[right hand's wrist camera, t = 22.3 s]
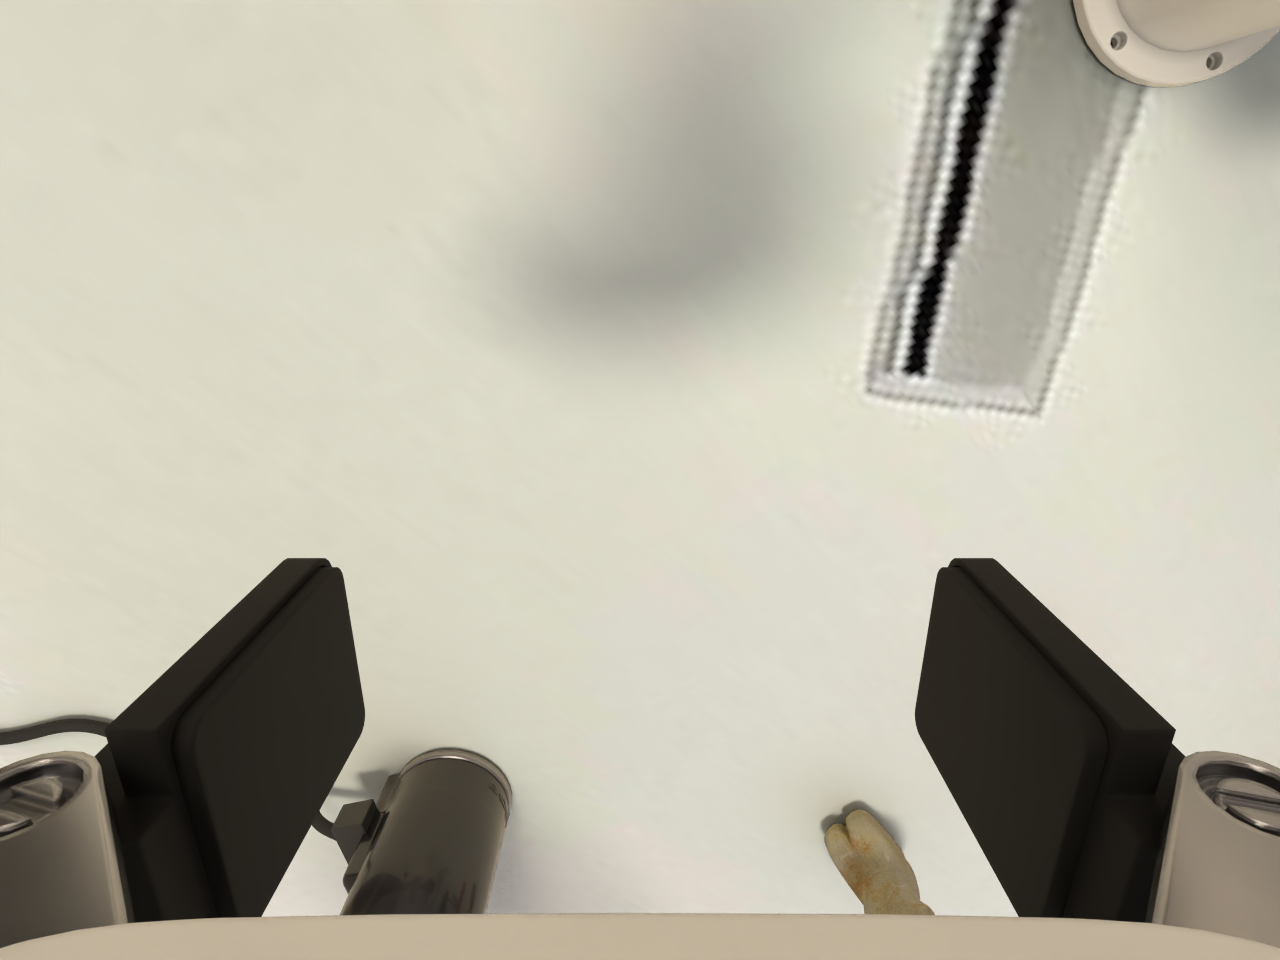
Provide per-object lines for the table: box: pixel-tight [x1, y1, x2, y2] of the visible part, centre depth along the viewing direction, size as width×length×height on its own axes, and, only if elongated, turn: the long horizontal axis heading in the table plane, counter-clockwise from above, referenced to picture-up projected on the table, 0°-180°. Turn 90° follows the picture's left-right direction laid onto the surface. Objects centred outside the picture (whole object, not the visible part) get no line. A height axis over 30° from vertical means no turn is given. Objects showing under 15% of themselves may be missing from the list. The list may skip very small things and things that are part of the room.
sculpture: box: [824, 809, 935, 915], centre depth 51 cm, size 6×7×15 cm
